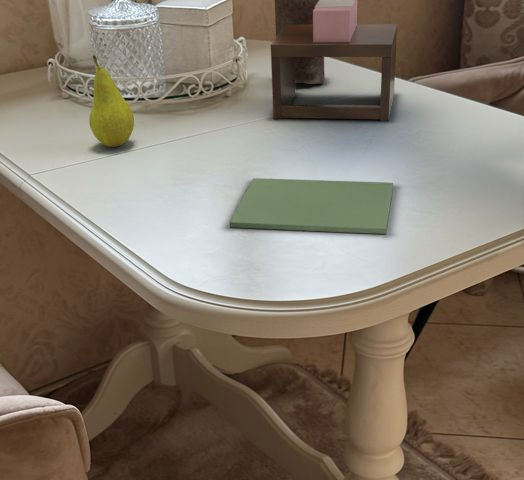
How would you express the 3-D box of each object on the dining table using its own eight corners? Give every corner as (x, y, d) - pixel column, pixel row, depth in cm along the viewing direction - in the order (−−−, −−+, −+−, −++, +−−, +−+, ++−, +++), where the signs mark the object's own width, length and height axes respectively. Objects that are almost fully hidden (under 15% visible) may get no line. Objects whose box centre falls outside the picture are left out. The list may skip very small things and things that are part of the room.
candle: (290, 92, 121) (286, -53, 110) (268, 81, 126) (262, -58, 115) (333, 83, 124) (333, -59, 112) (309, 73, 129) (307, -64, 118)
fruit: (133, 135, 107) (120, 43, 101) (140, 149, 103) (127, 54, 96) (91, 141, 106) (75, 48, 100) (96, 156, 102) (80, 59, 95)
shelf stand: (394, 95, 117) (397, 23, 112) (388, 121, 108) (391, 44, 102) (287, 93, 120) (285, 24, 115) (273, 119, 111) (270, 44, 105)
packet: (357, 25, 112) (357, -6, 110) (349, 42, 104) (350, 9, 102) (322, 25, 113) (322, -5, 111) (312, 42, 105) (312, 9, 103)
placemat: (392, 187, 89) (393, 182, 88) (385, 234, 79) (385, 228, 79) (253, 182, 92) (253, 178, 91) (230, 227, 82) (229, 222, 82)
